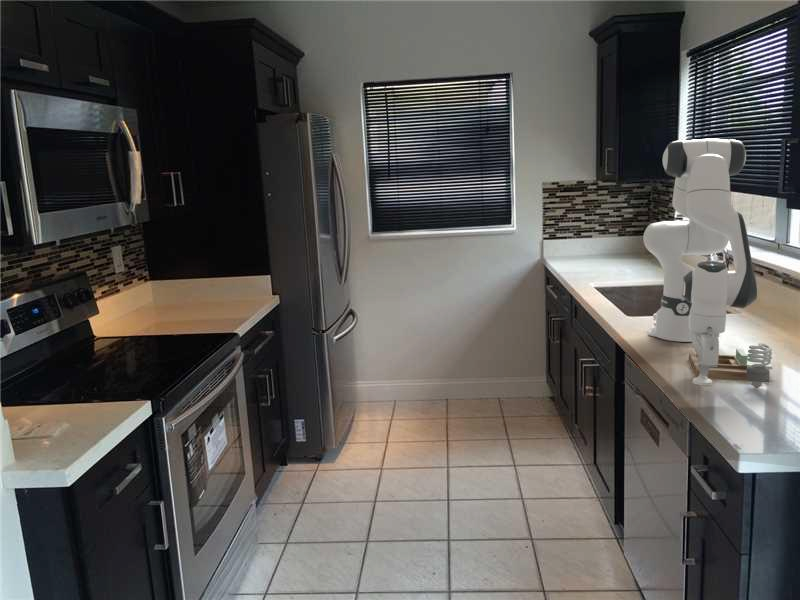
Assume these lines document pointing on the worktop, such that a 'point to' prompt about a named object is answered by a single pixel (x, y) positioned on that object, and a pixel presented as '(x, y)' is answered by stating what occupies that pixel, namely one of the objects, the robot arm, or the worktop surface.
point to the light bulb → (759, 371)
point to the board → (722, 368)
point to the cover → (742, 359)
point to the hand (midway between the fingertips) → (702, 373)
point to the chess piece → (702, 380)
